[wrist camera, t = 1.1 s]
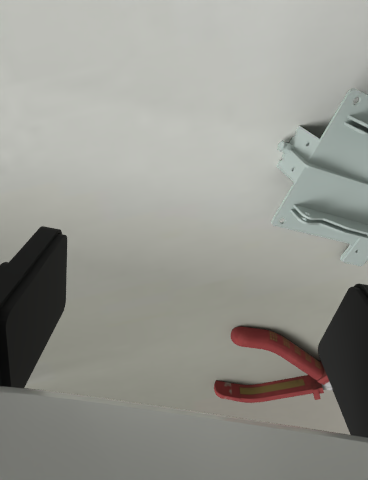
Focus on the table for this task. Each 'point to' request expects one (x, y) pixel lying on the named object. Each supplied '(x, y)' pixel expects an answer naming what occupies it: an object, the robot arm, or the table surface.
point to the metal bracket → (330, 180)
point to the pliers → (282, 388)
